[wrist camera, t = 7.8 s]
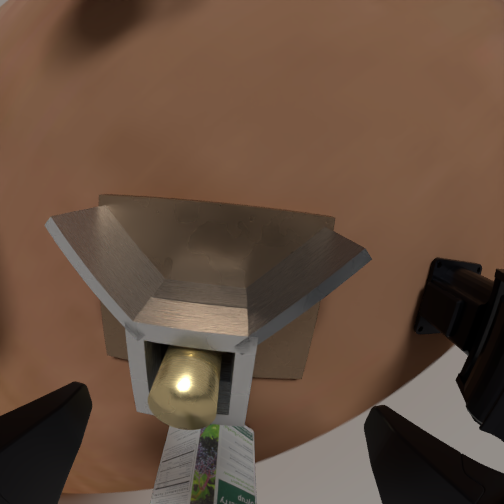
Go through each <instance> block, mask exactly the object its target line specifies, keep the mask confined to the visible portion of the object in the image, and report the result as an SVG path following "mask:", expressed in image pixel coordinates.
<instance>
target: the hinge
mask: <svg viewBox="0 0 504 504" xmlns="http://www.w3.org/2000/svg"><path fill="white" fill-rule="evenodd" d="M334 223H335V218H334V217H331V216H326V215H319V214H312V213H305V212H297V211H290V210H282V209H274V208H265V207H257V206H248V205H239V204H229V203H219V202H209V201H198V200H186V199H174V198H161V197H146V196H130V195H112V194H103V195H99V207H94V208H89V209H84V210H79V211H74V212H70V213H65V214H60V215H56V216H51V217H50V218H49V220H48V221H47V223H46V224H45V227H46V228H47V230H48V231H49V233H50V234H51V236H52V237H53V239H54V240H55V242H56V243H57V245H58V246H59V248H60V249H61V250H62V252H63V253H64V255H65V256H66V257H67V259H68V260H69V261H70V263H71V264H72V265H73V267H74V268H75V269H76V271H77V272H78V273H79V275H80V276H81V277H82V278H83V280H84V281H85V282H86V284H87V285H88V286H89V287H90V288H91V290H92V291H93V292H94V293H95V295H96V296H97V297H98V298H99V299H100V301H101V311H102V321H103V329H104V337H105V344H106V350H107V355H109V356H113V357H117V358H122V359H126V360H129V367H130V374H131V381H132V387H133V393H134V399H135V404H136V410H137V412H141V413H146V414H151V415H154V414H153V413H152V412H151V410H150V408H149V406H148V396H149V393H150V390H151V388H152V385H153V383H154V380H155V378H156V375H157V373H158V370H159V368H160V365H161V363H162V361H163V358H164V356H165V353H166V351H167V349H168V346H169V345H176V346H183V347H190V348H197V349H206V350H214V351H223V352H222V361H221V371H220V381H219V392H218V402H217V413H216V418H215V420H214V421H213V422H212V423H211V424H216V425H227V426H241V427H244V425H245V419H246V413H247V407H248V400H249V394H250V388H251V382H252V377H260V378H283V379H302V376H303V372H304V368H305V364H306V361H307V357H308V353H309V349H310V345H311V340H312V336H313V332H314V328H315V323H316V319H317V315H318V310H319V305H320V301H321V299H323V298H324V297H325V296H327V295H328V294H329V293H331V292H332V291H333V290H334V289H336V288H337V287H338V286H340V285H341V284H342V283H343V282H345V281H346V280H347V279H348V278H350V277H351V276H352V275H353V274H355V273H356V272H357V271H358V270H360V269H361V268H362V267H363V266H364V265H366V264H367V263H368V262H369V261H370V260H372V258H371V257H370V255H369V254H368V252H367V250H366V249H365V248H364V247H362V246H360V245H358V244H356V243H355V242H353V241H351V240H349V239H347V238H345V237H343V236H341V235H340V234H338V233H336V232H334V231H333V230H334Z"/></svg>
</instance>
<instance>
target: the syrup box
mask: <svg viewBox="0 0 504 504" xmlns="http://www.w3.org/2000/svg"><path fill="white" fill-rule="evenodd" d="M150 504H257V499H256V476H255V450H254V432H253V430H252V429H251V428H249V427H247V426H246V425H244V427H241V426H227V425H216V424H210V425H208V426H207V427H205V428H202V429H197V430H183V429H178V428H174V427H171V426H170V427H169V430H168V434H167V438H166V442H165V446H164V449H163V453H162V457H161V461H160V465H159V469H158V472H157V477H156V481H155V485H154V489H153V493H152V498H151V502H150Z"/></svg>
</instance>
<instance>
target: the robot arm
mask: <svg viewBox="0 0 504 504" xmlns="http://www.w3.org/2000/svg"><path fill="white" fill-rule="evenodd" d="M438 262H439V264H438ZM437 264H438V266H437ZM481 271H482V266H481V265H480V264H477V263H471V262H465V261H458V260H451V259H444V258H435V259H434V260H433V262H432V266H431V270H430V274H429V278H428V282H427V286H426V290H425V293H424V297H423V300H422V304H421V307H420V310H419V313H418V316H417V320H416V323H415V326H414V331H415V332H416V333H417V334H433V333H442V334H443V335H445V336H446V337H447V338H448V339H449V340H450V341H452V342H453V343H454V344H455V345H456V346H457V347H459V348H460V349H461V350H462V351H463V352H464V353H466V354H467V355H468V357H467V359H466V362H465V364H464V366H463V368H462V370H461V372H460V373H459V374H458V376H457V378H456V382H457V384H458V387H459V389H460V391H461V393H462V395H463V398H464V400H465V402H466V408H467V410H468V412H469V413H470V414H471V416H472V418H473V419H474V421H475V422H477V423H478V424H479V425H480V427H479V429H480V430H482V431H484V432H487V433H490V434H492V435H494V436H496V437H498V438H499V439H501V440H502V441H503V442H504V269H496V272H495V276H494V277H495V280H494V281H492V280H490V279H488V278H486V277H484V276H482V275H481ZM419 327H420V328H419ZM91 410H92V401H91V398H90V394H89V391H88V388H87V386H86V385H85V384H83V383H80V382H76V381H75V382H72V383H70V384H68V385H66V386H64V387H62V388H60V389H57V390H55V391H53V392H51V393H49V394H47V395H45V396H43V397H41V398H39V399H36V400H34V401H32V402H30V403H28V404H26V405H24V406H21V407H19V408H17V409H15V410H13V411H10V412H8V413H6V414H4V415H1V416H0V504H58V501H59V498H60V495H61V493H62V490H63V487H64V485H65V482H66V480H67V477H68V474H69V472H70V469H71V467H72V465H73V462H74V460H75V457H76V455H77V453H78V450H79V448H80V445H81V442H82V439H83V436H84V432H85V429H86V426H87V423H88V419H89V416H90V413H91ZM364 432H365V437H366V442H367V447H368V452H369V458H370V463H371V467H372V471H373V474H374V477H375V480H376V484H377V487H378V490H379V494H380V497H381V500H382V503H383V504H504V473H501V472H499V471H496V470H494V469H491V468H489V467H487V466H485V465H483V464H480V463H478V462H477V461H475V460H473V459H471V458H469V457H467V456H466V455H464V454H461V453H460V452H459V451H457V450H455V449H454V448H452V447H450V446H449V445H447V444H445V443H444V442H442V441H440V440H439V439H437V438H436V437H434V436H432V435H430V434H429V433H427V432H426V431H424V430H423V429H421V428H420V427H418V426H416V425H415V424H413V423H412V422H410V421H408V420H407V419H406V418H404V417H402V416H401V415H399V414H398V413H396V412H395V411H393V410H392V409H390V408H389V407H387V406H385V405H379V406H374V407H373V408H372V409H371V411H370V413H369V415H368V417H367V419H366V421H365V424H364Z"/></svg>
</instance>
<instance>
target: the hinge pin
mask: <svg viewBox="0 0 504 504" xmlns="http://www.w3.org/2000/svg"><path fill="white" fill-rule="evenodd" d="M222 352H223V351H214V350H206V349H197V348H190V347H183V346H176V345H169V346H168V349H167V351H166V353H165V356H164V358H163V361H162V363H161V365H160V368H159V370H158V373H157V375H156V378H155V380H154V383H153V385H152V388H151V390H150V393H149V396H148V406H149V408H150V410H151V412H152V413H153V414H154V415H155V416H156V417H157V418H158V419H159V420H160V421H162V422H163V423H165V424H167V425H169V426H171V427H174V428H178V429H183V430H197V429H202V428H205V427H207V426H208V425H210V424H211V423H212V422H213V421H214V420H215V418H216V413H217V402H218V392H219V381H220V371H221V361H222Z"/></svg>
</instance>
